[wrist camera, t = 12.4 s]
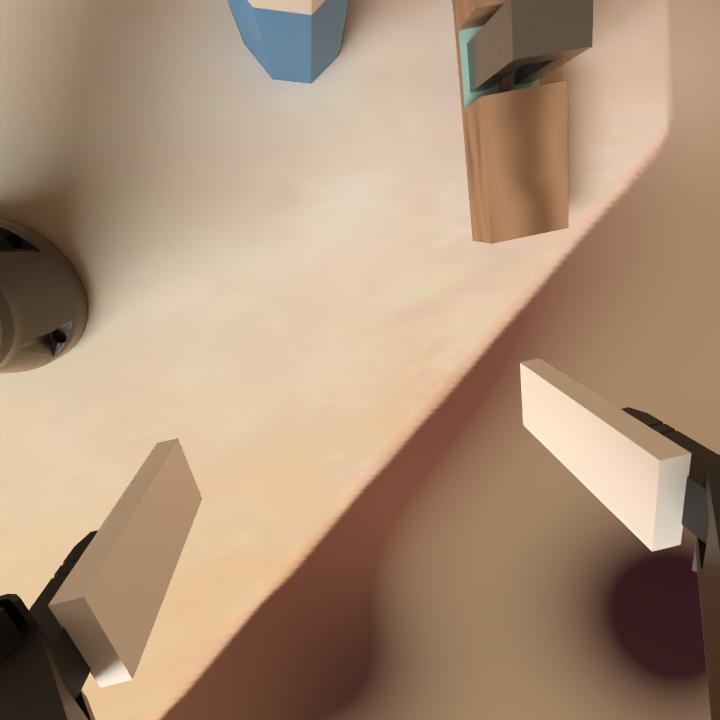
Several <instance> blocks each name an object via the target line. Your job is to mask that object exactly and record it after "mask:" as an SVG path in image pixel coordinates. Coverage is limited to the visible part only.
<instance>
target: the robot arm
mask: <svg viewBox="0 0 720 720" xmlns="http://www.w3.org/2000/svg"><path fill="white" fill-rule="evenodd" d="M87 313H88V306H87V297H86V293H85V289H84V286H83V284H82V281H81V279H80V277H79V275H78V273H77V271H76V270H75V268H74V266H73V265H72V264H71V262H70V261H69V260H68V258H67V257H66V256H65V255H64V254H63V253H62V252H61V251H60V250H59V249H58V248H57V247H56V246H55V245H54V244H53V243H51V242H50V241H49V240H47V239H46V238H45V237H43V236H42V235H40V234H38V233H37V232H35V231H33V230H31V229H29V228H27V227H25V226H22V225H20V224H17V223H14V222H11V221H7V220H2V219H0V374H1V373H13V372H22V371H28V370H32V369H35V368H39V367H41V366H44V365H46V364H48V363H50V362H52V361H54V360H55V359H57V358H59V357H61V356H62V355H64V354H65V353H67V352H68V351H69V350H70V349H71V348H72V347H73V346H74V345H75V344H76V343H77V341H78V340H79V338H80V337H81V335H82V333H83V331H84V328H85V325H86V321H87ZM520 370H521V388H522V389H521V390H522V410H523V425H524V426H525V427H526V428H527V429H528V430H529V431H530V432H531V433H532V434H533V435H534V436H535V437H536V438H537V439H538V440H539V441H540V442H541V443H542V444H543V445H544V446H545V447H546V448H547V449H548V450H549V451H550V452H551V453H552V454H553V455H554V456H555V457H556V458H557V459H559V461H561V462H562V463H563V464H564V465H565V466H566V467H567V468H568V469H569V470H570V471H571V472H572V473H573V474H574V475H575V476H576V477H577V478H578V479H579V480H580V481H581V482H582V483H583V484H584V485H585V486H586V487H587V488H588V489H589V490H590V491H591V492H592V493H593V494H594V495H595V496H596V497H597V498H598V499H599V500H600V501H601V502H602V503H603V504H604V505H605V506H606V507H607V508H608V509H609V510H610V511H611V512H612V513H613V514H614V515H615V516H616V517H617V518H619V519H620V520H621V521H622V522H623V523H624V524H625V525H626V526H627V527H628V528H629V529H630V530H631V531H632V532H633V533H634V534H635V535H636V536H637V537H638V538H639V539H640V540H641V541H642V542H643V543H644V544H645V545H646V546H647V547H648V548H649V549H650V550H651V551H656V550H660V549H664V548H668V547H672V546H676V545H680V544H681V536H682V528H683V526H685V527H686V528H687V529H688V530H689V531H691V532H692V533H693V534H694V535H695V536H697V539H696V546H695V553H694V560H693V567H692V571H695V572H698V583H699V593H700V603H701V615H702V625H703V636H704V647H705V657H706V668H707V678H708V689H709V700H710V711H711V720H720V455H718V454H716V453H714V452H713V451H711V450H709V449H707V448H706V447H704V446H702V445H701V444H699V443H697V442H696V441H694V440H692V439H691V438H689V437H687V436H685V435H684V434H682V433H680V432H678V431H675V430H674V429H673V428H672V427H670V426H668V425H666V424H663V422H661V421H660V420H658V419H656V418H655V417H653V416H651V415H650V414H648V413H645V412H642V411H639V410H635V409H632V408H624V409H620V408H618V407H616V406H615V405H613V404H612V403H610V402H608V401H607V400H605V399H604V398H602V397H600V396H599V395H597V394H596V393H594V392H592V391H591V390H589V389H587V388H586V387H584V386H583V385H581V384H580V383H578V382H576V381H575V380H573V379H572V378H570V377H568V376H567V375H565V374H564V373H562V372H560V371H559V370H557V369H555V368H554V367H552V366H551V365H549V364H547V363H546V362H544V361H543V360H541V359H535V360H530V361H526V362H521V363H520ZM201 500H202V497H201V495H200V492H199V490H198V487H197V485H196V482H195V480H194V477H193V475H192V472H191V470H190V467H189V465H188V462H187V460H186V457H185V455H184V452H183V450H182V447H181V445H180V442H179V440H178V439H173V440H169V441H164V442H160V443H157V444H156V446H155V447H154V449H153V450H152V452H151V453H150V455H149V456H148V458H147V459H146V461H145V462H144V463H143V465H142V466H141V468H140V469H139V471H138V472H137V474H136V475H135V477H134V478H133V480H132V481H131V483H130V484H129V486H128V487H127V489H126V490H125V492H124V493H123V495H122V496H121V498H120V499H119V501H118V502H117V504H116V505H115V507H114V508H113V510H112V511H111V513H110V514H109V516H108V517H107V518H106V520H105V521H104V523H103V524H102V526H101V527H100V529H99V530H97V531H93V532H90V533H89V534H88V535H87V536H86V537H85V538H84V539H82V540H81V541H80V542H79V543H78V544H77V545H76V546H75V547H74V548H73V549H72V551H71V552H70V554H69V555H68V556H67V558H66V559H65V561H64V562H63V565H61V566H60V568H59V569H58V570H57V572H56V573H55V575H54V578H52V579H51V580H50V582H49V583H48V584H47V586H46V587H45V589H44V590H43V591H42V593H41V594H40V596H39V597H38V598H37V600H36V601H35V603H34V604H33V606H32V607H31V608H30V610H28V609H27V607H26V606H25V604H24V603H23V601H22V600H21V598H20V597H19V596H18V595H17V594H6V595H2V596H0V720H95V718H94V715H93V713H92V710H91V707H90V705H89V702H88V699H87V697H86V696H85V694H84V693H83V691H82V690H81V689H82V687H83V685H84V683H85V681H86V679H87V677H88V675H89V673H90V672H91V674H92V675H93V677H94V678H95V680H96V682H97V683H98V685H99V686H100V688H101V687H105V686H109V685H113V684H117V683H121V682H125V681H129V680H133V677H134V675H135V672H136V669H137V667H138V664H139V662H140V659H141V656H142V654H143V651H144V649H145V646H146V643H147V641H148V638H149V635H150V633H151V630H152V628H153V625H154V622H155V620H156V617H157V615H158V612H159V609H160V607H161V604H162V602H163V599H164V596H165V594H166V591H167V588H168V586H169V583H170V581H171V578H172V575H173V573H174V570H175V568H176V565H177V562H178V560H179V557H180V555H181V552H182V549H183V547H184V544H185V541H186V539H187V536H188V534H189V531H190V528H191V526H192V523H193V521H194V518H195V515H196V513H197V510H198V508H199V505H200V502H201Z"/></svg>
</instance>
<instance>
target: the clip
mask: <svg viewBox="0 0 720 720" xmlns="http://www.w3.org/2000/svg"><path fill="white" fill-rule="evenodd" d="M592 30H593V0H507V1H506V2H505V3H504V4H503V5H502V6H501V7H500V9H499V10H498V11H497V12H496V13H495V14H494V15H493V16H492V17H491V18H490V19H489V21H488V22H487V23H486V24H485V25H484V26H483V27H482V28H481V29H480V30H479V32H478V33H477V34H476V35H475V36H474V37H473V38H472V39H471V40H470V41H469V42H468V44H467V53H468V68H469V83H470V93H473V92H479V91H484V90H488V89H490V88H491V87H493V86H494V85H495V84H497V83H498V82H500V81H501V80H503V79H504V78H505V77H507V76H508V75H510V74H511V73H512V72H514V71H515V85H519V84H524V83H530V82H534V81H535V80H537V79H539V78H540V77H542V76H544V75H545V74H547V73H549V72H550V71H552V70H554V69H555V68H557V67H559V66H560V65H562V64H564V63H565V62H567V61H569V60H570V59H572V58H574V57H575V56H577V55H579V54H580V53H582V52H584V51H585V50H587V49H589V48H590V47H592Z"/></svg>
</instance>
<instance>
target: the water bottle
mask: <svg viewBox="0 0 720 720" xmlns="http://www.w3.org/2000/svg"><path fill="white" fill-rule="evenodd" d="M348 2H349V0H228V3H229V5H230V8H231V11H232V13H233V16H234V18H235V21H236V23H237V26H238V29H239V31H240V34H241V36H242V39H243V42H244V44H245V45H246V46H247V48H248V49H249V50H250V51H251V53H252V54H253V55H254V56H255V58H256V59H257V60H258V61H259V63H260V64H261V65H262V66H263V68H264V69H265V70H266V71H267V73H268V74H269V75H270V76H271V78H272V79H276V80H285V81H294V82H303V83H312V82H313V81H314V80H315V79H316V78H317V77H318V76H319V75H320V74H321V73H322V72H323V71H324V70H325V69H326V68H327V67H328V66H329V65H330V64H331V63H332V62H333V61H334V60H335V59H336V58H337V56H338V55H339V52H340V47H341V41H342V36H343V30H344V24H345V19H346V13H347V8H348Z"/></svg>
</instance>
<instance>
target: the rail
mask: <svg viewBox="0 0 720 720" xmlns="http://www.w3.org/2000/svg"><path fill="white" fill-rule="evenodd" d="M506 1H507V0H453V10H454V22H455V33H456V45H457V57H458V69H459V81H460V92H461V104H462V116H463V128H464V140H465V152H466V163H467V175H468V187H469V199H470V211H471V223H472V234H473V241H478V242H485V243H491V244H492V243H497V242H502V241H507V240H511V239H516V238H521V237H526V236H531V235H536V234H541V233H545V232H550V231H555V230H560V229H565V228H568V80H566V81H560V82H555V83H550V84H545V85H541V77H540V78H539V79H537V80H535V81H534V82H530V83H524V84H519V85H515V71H514V72H512V73H511V74H510V75H508V76H507V77H505V78H504V79H503V80H501V81H500V82H498V83H497V84H495V85H494V86H493V87H491V88H490V89H488V90H484V91H479V92H473V93H470V83H469V68H468V53H467V44H468V42H469V41H470V40H471V39H472V38H473V37H474V36H475V35H476V34H477V33H478V32H479V30H480V29H481V28H482V27H483V26H484V25H485V24H486V23H487V22H488V21H489V19H490V18H491V17H492V16H493V15H494V14H495V13H496V12H497V11H498V10H499V9H500V7H501V6H502V5H503V4H504V3H505V2H506Z"/></svg>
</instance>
